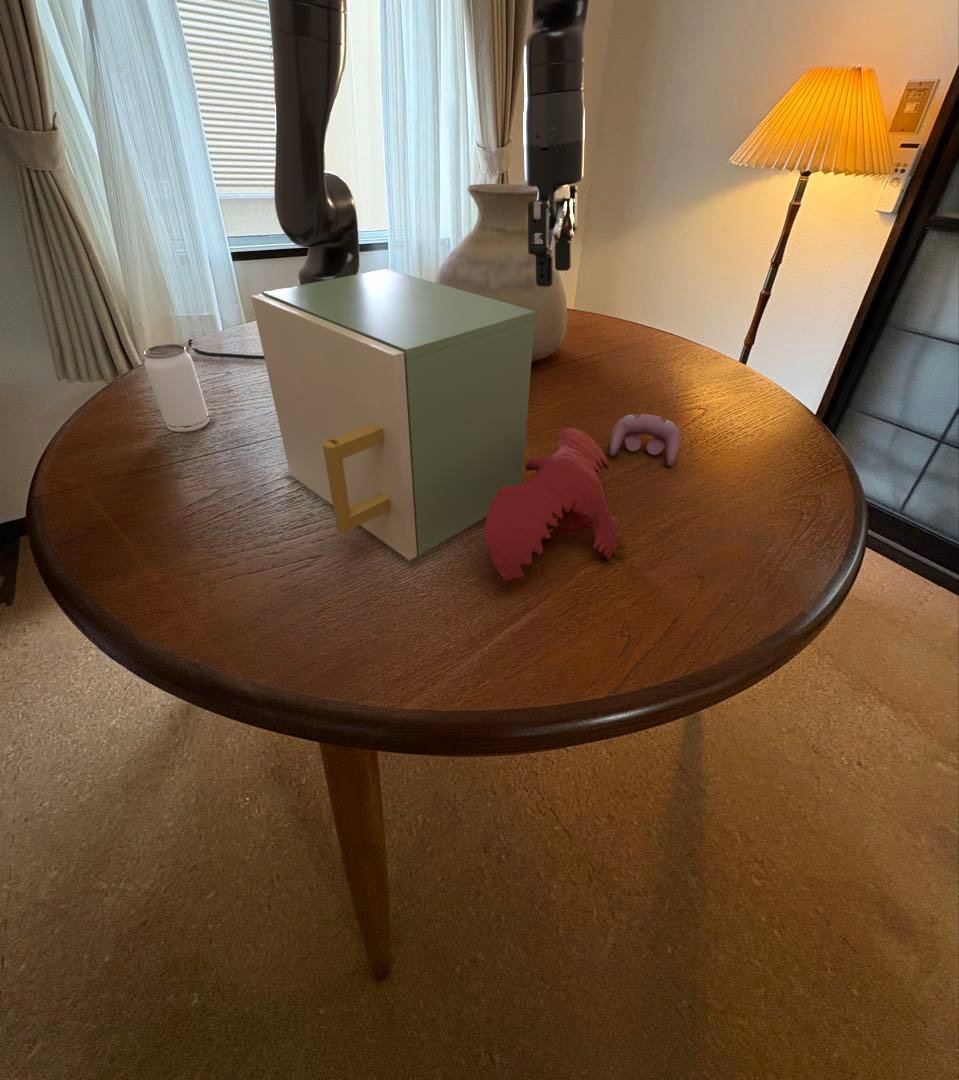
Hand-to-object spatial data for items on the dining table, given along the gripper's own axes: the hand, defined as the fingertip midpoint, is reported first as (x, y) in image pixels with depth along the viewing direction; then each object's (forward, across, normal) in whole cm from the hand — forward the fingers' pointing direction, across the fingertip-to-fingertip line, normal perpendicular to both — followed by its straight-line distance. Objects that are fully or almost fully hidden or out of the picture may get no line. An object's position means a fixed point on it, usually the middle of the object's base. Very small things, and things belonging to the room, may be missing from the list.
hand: (554, 277), depth 80 cm
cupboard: (+20, +28, -12) cm, 36 cm away
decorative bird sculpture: (+22, +31, +11) cm, 39 cm away
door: (+19, +40, -17) cm, 47 cm away
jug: (+22, -28, -21) cm, 41 cm away
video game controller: (+24, +6, +16) cm, 29 cm away
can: (+16, +27, -52) cm, 61 cm away
